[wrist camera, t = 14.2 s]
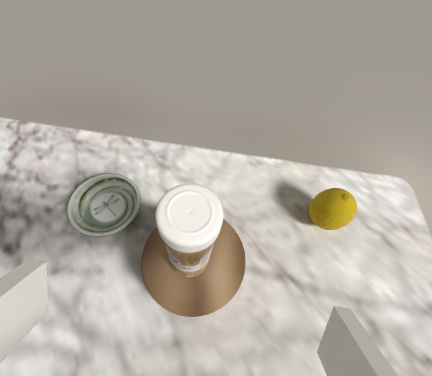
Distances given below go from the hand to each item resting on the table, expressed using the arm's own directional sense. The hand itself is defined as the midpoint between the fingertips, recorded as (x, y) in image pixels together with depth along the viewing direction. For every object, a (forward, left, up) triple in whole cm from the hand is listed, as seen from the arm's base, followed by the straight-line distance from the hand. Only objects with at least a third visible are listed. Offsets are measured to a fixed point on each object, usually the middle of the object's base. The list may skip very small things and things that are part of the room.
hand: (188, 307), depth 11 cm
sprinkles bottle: (-1, +6, -16) cm, 17 cm away
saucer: (-14, +12, -21) cm, 28 cm away
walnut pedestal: (-1, +6, -20) cm, 21 cm away
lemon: (+17, +16, -21) cm, 31 cm away
